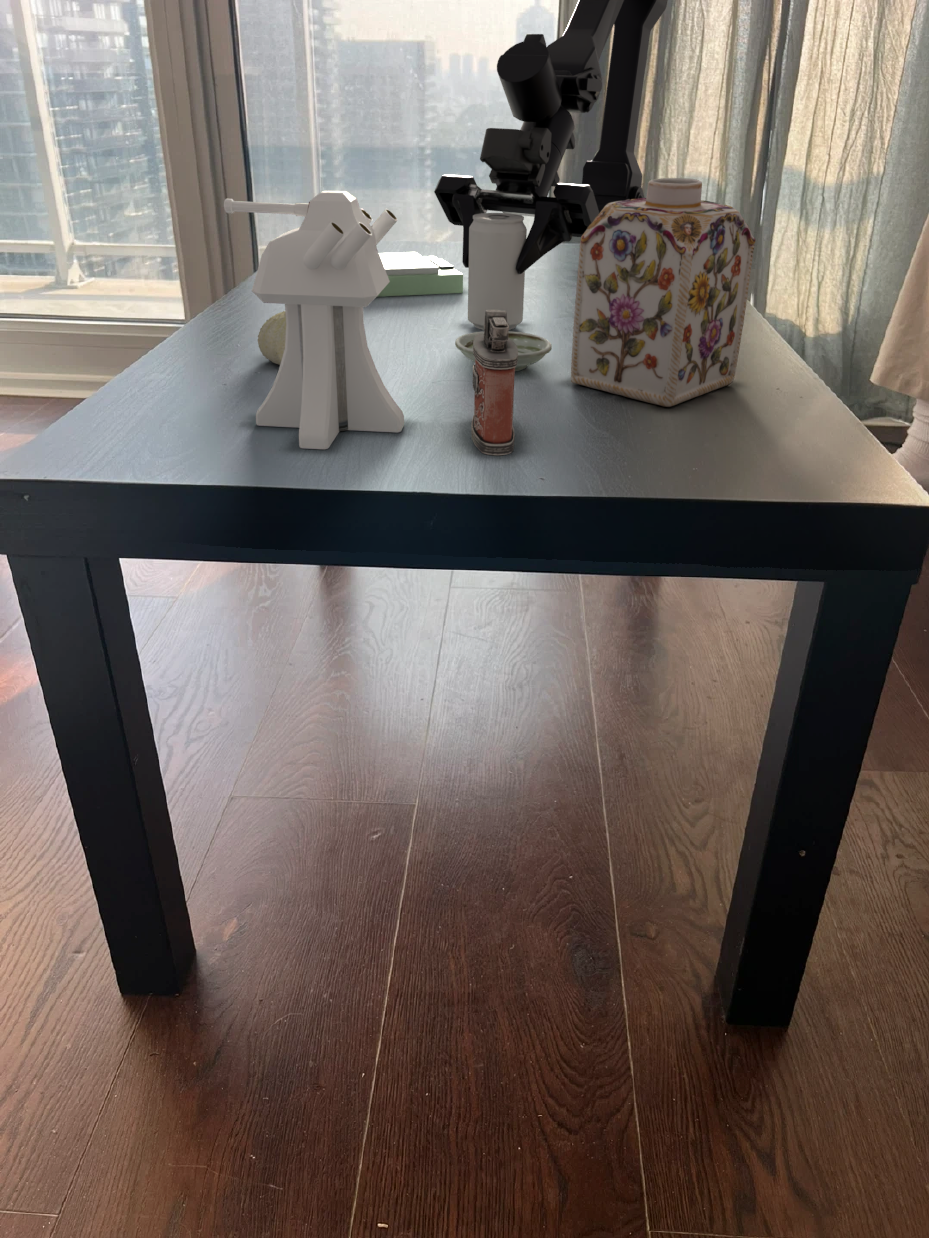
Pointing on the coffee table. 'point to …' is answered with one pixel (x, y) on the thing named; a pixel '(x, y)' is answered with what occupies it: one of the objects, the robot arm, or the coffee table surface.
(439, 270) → the scale
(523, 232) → the beverage can
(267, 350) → the sea urchin shell
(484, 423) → the lighter
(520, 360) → the saucer
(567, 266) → the coffee table surface
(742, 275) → the decorative jar
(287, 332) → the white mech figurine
